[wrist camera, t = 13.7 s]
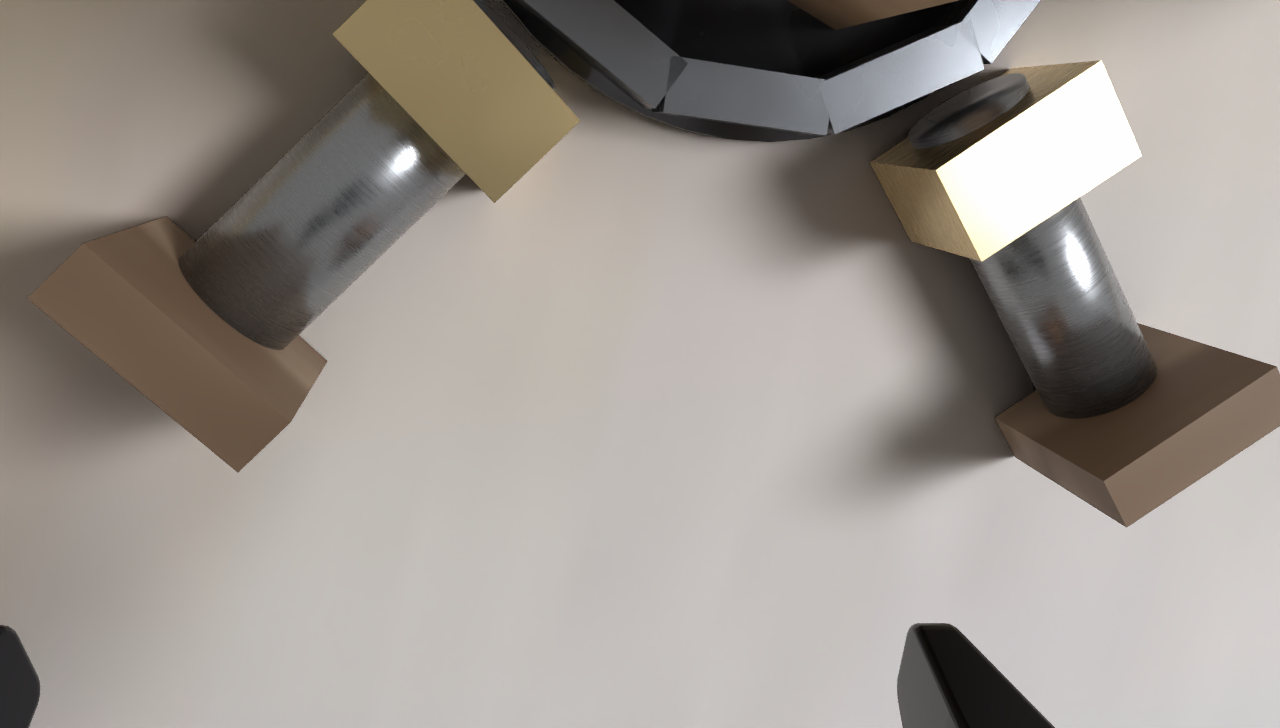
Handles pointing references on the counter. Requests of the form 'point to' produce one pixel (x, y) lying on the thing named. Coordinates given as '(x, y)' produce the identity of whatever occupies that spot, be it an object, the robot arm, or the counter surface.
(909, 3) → the coupling post
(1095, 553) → the counter surface
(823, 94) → the dark grey shallow bowl
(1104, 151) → the shaft
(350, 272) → the shaft
